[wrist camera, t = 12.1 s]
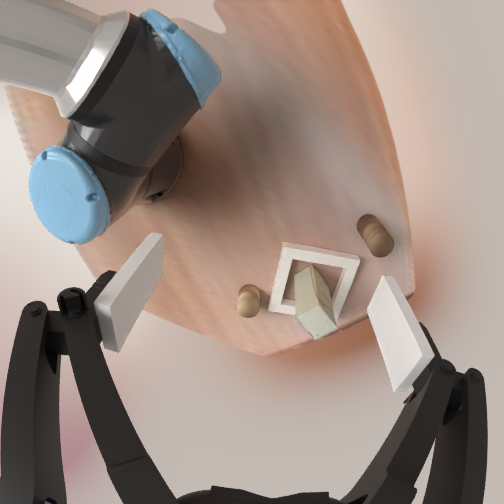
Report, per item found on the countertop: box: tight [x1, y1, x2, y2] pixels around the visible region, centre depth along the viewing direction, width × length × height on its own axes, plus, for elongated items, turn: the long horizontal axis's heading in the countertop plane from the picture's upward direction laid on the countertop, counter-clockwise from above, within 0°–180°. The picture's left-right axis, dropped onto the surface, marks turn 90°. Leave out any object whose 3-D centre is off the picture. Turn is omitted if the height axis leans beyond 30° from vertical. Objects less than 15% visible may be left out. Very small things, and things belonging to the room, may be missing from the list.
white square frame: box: [268, 242, 360, 320], centre depth 53 cm, size 14×14×2 cm
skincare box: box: [294, 265, 337, 340], centre depth 48 cm, size 6×4×12 cm
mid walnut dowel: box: [357, 214, 394, 257], centre depth 44 cm, size 4×4×8 cm
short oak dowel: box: [237, 285, 260, 318], centre depth 54 cm, size 4×4×5 cm
